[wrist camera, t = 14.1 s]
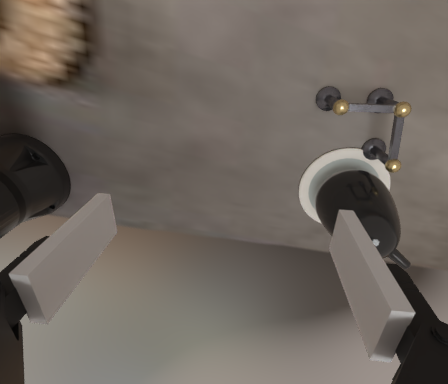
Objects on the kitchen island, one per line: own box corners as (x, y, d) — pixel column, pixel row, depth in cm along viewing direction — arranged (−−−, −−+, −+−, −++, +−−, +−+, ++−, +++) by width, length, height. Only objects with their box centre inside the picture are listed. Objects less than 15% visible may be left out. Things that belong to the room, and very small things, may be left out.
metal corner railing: (306, 155, 43) (316, 175, 36) (318, 86, 38) (331, 93, 32) (380, 159, 42) (405, 180, 35) (402, 88, 37) (435, 97, 31)
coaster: (293, 221, 49) (293, 223, 48) (305, 145, 42) (306, 146, 42) (375, 227, 48) (376, 229, 47) (400, 150, 41) (402, 151, 41)
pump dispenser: (343, 227, 48) (377, 297, 34) (297, 195, 46) (314, 255, 32) (392, 185, 43) (453, 247, 30) (343, 147, 41) (385, 195, 28)
